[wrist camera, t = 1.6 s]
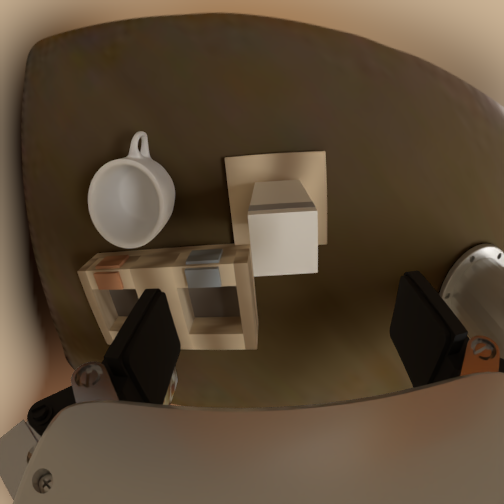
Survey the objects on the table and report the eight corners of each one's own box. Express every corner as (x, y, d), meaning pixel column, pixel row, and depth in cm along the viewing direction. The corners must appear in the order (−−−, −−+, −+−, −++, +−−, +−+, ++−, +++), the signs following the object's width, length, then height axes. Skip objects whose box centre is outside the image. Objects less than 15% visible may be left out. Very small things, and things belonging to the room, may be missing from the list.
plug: (299, 179, 25) (317, 210, 16) (301, 221, 27) (317, 273, 18) (254, 182, 25) (247, 214, 16) (258, 224, 27) (253, 276, 18)
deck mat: (324, 151, 24) (325, 151, 24) (326, 242, 28) (326, 244, 28) (225, 157, 25) (224, 157, 25) (235, 247, 29) (235, 249, 28)
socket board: (250, 239, 28) (246, 261, 24) (258, 322, 33) (256, 351, 28) (96, 250, 30) (74, 270, 25) (121, 322, 34) (106, 346, 30)
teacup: (178, 233, 29) (161, 256, 24) (113, 220, 28) (87, 239, 23) (192, 135, 24) (175, 137, 19) (120, 127, 24) (91, 129, 19)
